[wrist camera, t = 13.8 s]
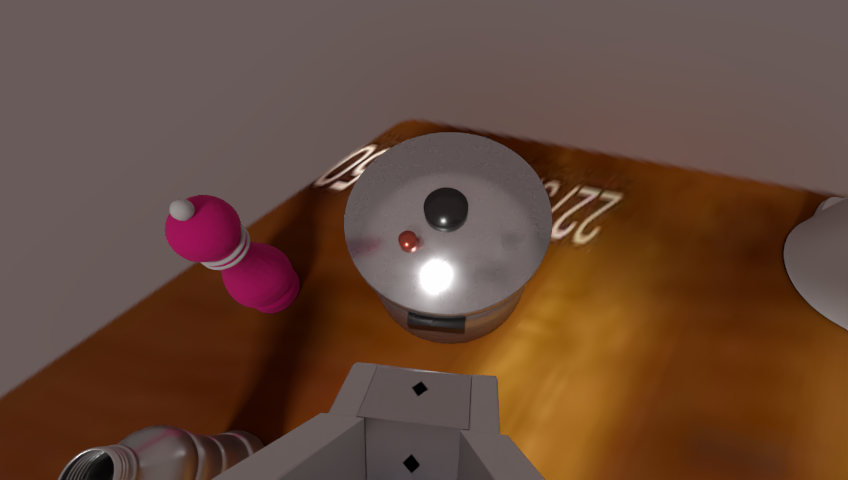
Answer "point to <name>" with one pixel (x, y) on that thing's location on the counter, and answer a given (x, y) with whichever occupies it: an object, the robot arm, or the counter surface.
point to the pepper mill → (231, 253)
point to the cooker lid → (448, 224)
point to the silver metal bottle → (163, 456)
